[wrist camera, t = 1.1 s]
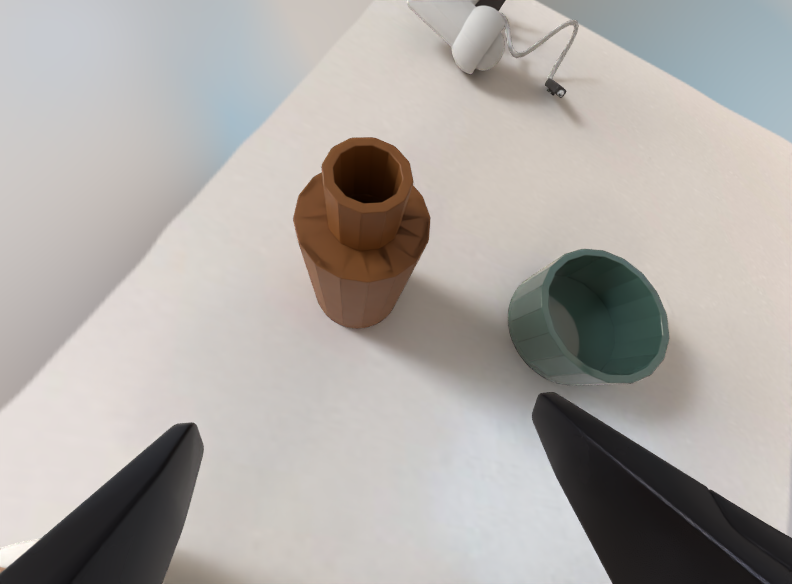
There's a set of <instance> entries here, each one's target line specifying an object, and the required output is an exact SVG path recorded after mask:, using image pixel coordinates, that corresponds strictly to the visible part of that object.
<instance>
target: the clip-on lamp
mask: <svg viewBox="0 0 792 584" xmlns="http://www.w3.org/2000/svg"><path fill="white" fill-rule="evenodd" d="M504 2H505V0H407V3H408V6H409V8H410V9H411V10H412V11H413V12H414V13H415V14H417V15H418V16H419V17H420V18H421V19H422V20H423V21H424V22H425V23H426V24H427V25H428V26H429V27H430V28H431V29H432V30H434V31H435V32H436V33H437V34H438V35H439V36H440V37H441V38H442V39H443V40H444V41H445V42H446V43H447V44H448V45H449V46H451V49H452V55H453V58H454V60H455V63H456V64H457V66H458V67H459V68H460V69H461V70H462V71H464V72H466V73H468V74H472V73H473V72H474V71H475V69H478V70H483V71H484V70H489V69H491V68H493V67H494V66H495V65H496V64H497V63H498V62H499V61H500V59H501V57H502V55H503V52H504V45H505V44H504V37H503V35H502V33H501V31H502V30H503V28H504V27H505V32H506V39H507V44H508V48H509V51H510V53H511V55H512V56H513V57H515V58H520V57H524V56H525V55H527V54H529V53H530V52H532V51H533V50H535V49H536V48H537V47H539V46H540V45H541V44H543V43H544V42H545V41H547V40H548V39H549V38H551V37H552V36H553V35H554V34H556V33H557V32H559V31H560V30H561V29H563V28H565V27H567V26H569V25H573V26H574V31H573V34H572V37H571V38H570V40H569V42H568V44H567V46H566V47H565V49H564V51H563V52H562V54H561V56H560V57H559V59H558V60H557V62H556V64H555V65H554V67H553V69H552V70H551V72H550V74H549V76H548V80H547V81H546V83H545V86H547V87H548V88H549V89H548V90H547V91H548V92H551V94H552V95H554V94H556V95H557V96H559V97H560V98H562V97H563V96H564V95H565V93H566V90H565V89H564V88H563V87H562V86H560V85H559V84H558V83H556V82H555V81H554V80H553V76H554V74H555V72H556V71H557V69H558V67H559V65H560V63H561V62H562V60H563V58H564V57H565V55H566V53H567V51H568V50H569V48H570V46H571V44H572V42H573V40H574V38H575V36H576V34H577V31H578V26H579V25H578V22H577V21H576V20H570V21H567V22H565V23H563V24H562V25H560V26H559V27H557V28H556V29H554V30H553V31H552V32H550V33H549V34H548V35H546V36H545V37H544V38H542V39H541V40H540V41H539V42H537V43H536V44H535V45H533V46H532V47H530V48H529V49H527V50H525V51H523V52H516V51H515V50H514V48H513V45H512V40H511V33H510V27H509V23H508V20H507V18H506V16H505V15H504V14H503V13H501V12H498V11H499V10H500V8H501V6H502V5H503V3H504Z"/></svg>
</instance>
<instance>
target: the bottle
mask: <svg viewBox="0 0 792 584" xmlns="http://www.w3.org/2000/svg"><path fill="white" fill-rule="evenodd" d="M321 168H322V173H320V174H318V175H316V176H314V177H313V178H312V179H311V181H310V182H309V183H308V184H307V186H306V187H305V188H304V189H303V191H302V192H301V193H300V194H299V196H298V200H297V204H296V209H295V213H294V217H293V221H294V226H295V230H296V234H297V238H298V243H299V246H300V249H301V252H302V255H303V258H304V261H305V264H306V267H307V270H308V273H309V276H310V279H311V282H312V285H313V288H314V291H315V294H316V297H317V300H318V303H319V305H320V306H321V308H322V310H323V311H324V313H325V314H326V315H327V316H328V317H329V318H330V319H331V320H333V321H334V322H336V323H338V324H340V325H342V326H345V327H349V328H366V327H370V326H373V325H375V324H377V323H379V322H381V321H382V320H383V319H385V318H386V317H387V316H388V315H389V314H390V313H391V311H392V309H393V307H394V306H395V304H396V302H397V300H398V298H399V297H400V295H401V293H402V291H403V289H404V287H405V285H406V283H407V281H408V279H409V277H410V276H411V274H412V272H413V270H414V268H415V266H416V264H417V262H418V260H419V258H420V256H421V255H422V253H423V251H424V249H425V247H426V245H427V243H428V240H429V230H430V215H429V213H428V210H427V207H426V204H425V202H424V199H423V196H422V195H421V194H420V193H419V191H418V190H417V189H416V188H415V187H414V186H413V177H412V172H411V167H410V163H409V161H408V160H407V159H406V158H405V157H404V156H403V155H402V153H401V152H400V151H399V150H398V149H397V148H396V147H395V146H393V145H391V144H389V143H386V142H384V141H381V140H379V139H377V138H373V137H366V138H350V139H348V140H346V141H344V142H342V143H340V144H338V145H336V146H334V147H333V148H331V150H330V152H329V153H328V155H327V157H326V158H325V160H324V162H323V164H322V167H321Z"/></svg>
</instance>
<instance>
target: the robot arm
mask: <svg viewBox="0 0 792 584" xmlns="http://www.w3.org/2000/svg"><path fill="white" fill-rule="evenodd" d="M532 420H533V423H534V425H535V428H536V430H537V433H538V435H539V437H540V440H541V442H542V445H543V447H544V449H545V452H546V454H547V457H548V459H549V461H550V464H551V466H552V468H553V471H554V473H555V475H556V477H557V479H558V481H559V483H560V485H561V487H562V489H563V491H564V493H565V495H566V496H567V498H568V500H569V502H570V504H571V506H572V508H573V510H574V512H575V513H576V515H577V517H578V519H579V521H580V523H581V525H582V527H583V529H584V530H585V532H586V534H587V536H588V538H589V540H590V542H591V544H592V546H593V547H594V549H595V551H596V553H597V555H598V557H599V559H600V561H601V563H602V565H603V566H604V568H605V570H606V572H607V574H608V576H609V578H610V580H611V582H612V583H613V584H792V538H791V537H789V536H787V535H785V534H784V533H782V532H780V531H778V530H777V529H775V528H773V527H772V526H770V525H768V524H766V523H765V522H763V521H761V520H760V519H758V518H756V517H755V516H753V515H751V514H750V513H748V512H747V511H745V510H743V509H742V508H740V507H738V506H737V505H735V504H733V503H732V502H730V501H729V500H727V499H725V498H724V497H722V496H721V495H719V494H717V493H716V492H714V491H712V490H708V488H707V487H706V486H704V485H703V484H701V483H700V482H698V481H696V480H695V479H693V478H691V477H690V476H688V475H687V474H685V473H683V472H682V471H680V470H679V469H677V468H675V467H674V466H672V465H671V464H669V463H667V462H666V461H664V460H663V459H661V458H659V457H658V456H656V455H655V454H653V453H651V452H650V451H648V450H647V449H645V448H643V447H642V446H640V445H639V444H637V443H635V442H634V441H632V440H630V439H629V438H627V437H626V436H624V435H622V434H621V433H619V432H618V431H616V430H614V429H613V428H611V427H610V426H608V425H606V424H605V423H603V422H602V421H600V420H598V419H597V418H595V417H594V416H592V415H590V414H589V413H587V412H586V411H584V410H582V409H581V408H579V407H578V406H576V405H574V404H573V403H571V402H569V401H568V400H566V399H565V398H563V397H561V396H560V395H558V394H556V393H554V392H547V393H540V394H539V395H538V397H537V400H536V403H535V406H534V409H533V412H532ZM203 451H204V446H203V442H202V439H201V436H200V433H199V430H198V427H197V425H196V424H195V423H180V424H176V425H174V426H172V427H171V428H170V429H169V430H167V431H166V432H165V433H164V434H163V435H162V436H160V437H159V438H158V439H157V440H156V441H154V442H153V443H152V444H151V445H150V446H149V447H147V448H146V449H145V450H144V451H143V452H142V453H140V454H139V455H138V456H137V457H136V458H135V459H133V460H132V461H131V462H130V463H129V464H128V465H126V466H125V467H124V468H123V469H122V470H121V471H119V472H118V473H117V474H116V475H115V476H114V477H112V478H111V479H110V480H109V481H108V482H106V483H105V484H104V485H103V486H102V487H101V488H99V489H98V490H97V491H96V492H95V493H94V494H92V495H91V496H90V497H89V498H88V499H87V500H85V501H84V502H83V503H82V504H81V505H80V506H78V507H77V508H76V509H75V510H74V511H73V512H71V513H70V514H69V515H68V516H67V517H66V518H64V519H63V520H62V521H61V522H60V523H58V524H57V525H56V526H55V527H54V528H53V529H51V530H50V531H49V532H48V533H47V534H46V535H44V536H43V537H42V538H41V539H40V540H39V541H37V542H36V543H35V544H34V545H33V546H32V547H30V548H29V549H28V550H27V551H26V552H25V553H23V554H22V555H21V556H20V557H19V558H18V559H16V560H15V561H14V562H13V563H12V564H10V565H9V566H8V567H7V568H6V569H5V570H3V571H2V572H1V573H0V584H162V583H163V580H164V578H165V575H166V572H167V570H168V567H169V564H170V562H171V559H172V556H173V554H174V551H175V548H176V546H177V543H178V540H179V538H180V535H181V532H182V529H183V526H184V523H185V520H186V516H187V513H188V509H189V505H190V502H191V498H192V494H193V490H194V487H195V483H196V479H197V475H198V472H199V468H200V464H201V461H202V457H203Z"/></svg>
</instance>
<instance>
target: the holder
mask: <svg viewBox="0 0 792 584" xmlns="http://www.w3.org/2000/svg"><path fill="white" fill-rule="evenodd" d="M508 326H509V331H510V335H511V338H512V341H513V343H514V345H515V348H516V349H517V351H518V353H519V354H520V356H521V357H522V358H523V360H524V361H525V362H526V363H527V364H528V365H529V366H530V367H531V368H532V369H533V370H534V371H535V372H537V373H538V374H539V375H541V376H543V377H544V378H546V379H548V380H550V381H553V382H556V383H559V384H564V385H606V384H631V383H634V382H636V381H638V380H641V379H643V378H645V377H647V376H650V375H651V374H652V373H653V372H654V371H655V369H656V368H657V367H658V366H659V364H660V363H661V362H662V361H663V359H664V357H665V353H666V349H667V346H668V342H669V330H668V320H667V314H666V312H665V309H664V307H663V304H662V302H661V300H660V297H659V295H658V293H657V291H656V290H655V289H654V287H653V286H652V285H651V284H650V282H649V281H648V280H647V278H646V277H645V276H644V274H642V273H641V272H640V271H639V270H638V269H636V268H635V267H634V266H633V265H631V264H630V263H629V262H627V261H626V260H625V259H623V258H621V257H618V256H616V255H613V254H611V253H609V252H606V251H603V250H592V249H580V250H577V251H574V252H571V253H567V254H564V255H563V256H561V257H560V258H558V259H557V260H555V261H553V262H552V263H550V264H549V265H547V266H546V267H544V268H543V269H541V270H540V271H538V272H536V273H535V274H533V275H532V276H531V277H530V278H528V279H527V280H526V281H524V282H523V283H522V284H521V285H520V286H519V287H518V288H517V290H516V291H515V293H514V294H513V296H512V299H511V302H510V305H509V310H508Z"/></svg>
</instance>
